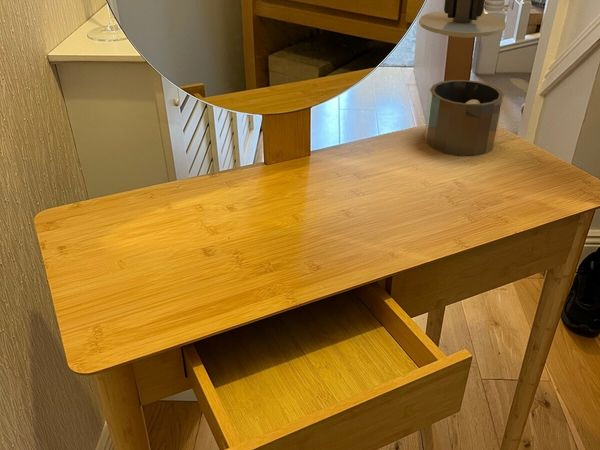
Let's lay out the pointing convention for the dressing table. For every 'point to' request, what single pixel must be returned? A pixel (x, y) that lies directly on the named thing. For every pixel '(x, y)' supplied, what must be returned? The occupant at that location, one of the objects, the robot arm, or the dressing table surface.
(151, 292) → the dressing table surface
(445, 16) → the lid
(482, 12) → the robot arm
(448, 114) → the pot
